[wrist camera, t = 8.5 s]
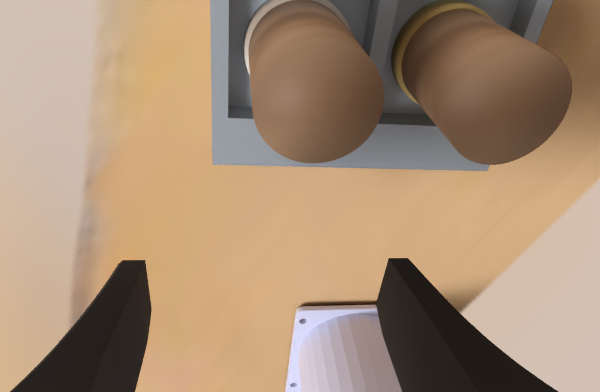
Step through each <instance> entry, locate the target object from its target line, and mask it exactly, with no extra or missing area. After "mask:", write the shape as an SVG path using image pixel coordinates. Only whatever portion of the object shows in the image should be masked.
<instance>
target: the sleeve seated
mask: <svg viewBox="0 0 600 392" xmlns="http://www.w3.org/2000/svg"><path fill="white" fill-rule="evenodd" d="M244 53H245V62H246V67H247V70H248V73H249V75H250V84H251V98H252V111H253V117H254V121H255V124H256V127H257V129H258V132H259V134H260V135H261V137H262V138H263V140H264V141H265V142H266V143H267V144H268V145H269V146H270V147H271V148H272V149H273V150H274V151H275V152H277V153H279V154H280V155H282V156H284V157H286V158H288V159H291V160H294V161H297V162H302V163H311V164H313V163H325V162H330V161H334V160H337V159H339V158H342V157H344V156H346V155H348V154H350V153H351V152H353V151H354V150H356V149H357V148H358V147H360V146H361V145H362V144H363V143H364V142H365V141H366V140H367V139H368V138H369V137H370V135H371V134H372V133H373V131H374V130H375V128H376V126H377V124H378V122H379V120H380V117H381V114H382V111H383V105H384V88H383V83H382V79H381V76H380V74H379V71H378V69H377V68H376V66H375V65H374V63H373V62H372V60H371V59H370V58H369V56H368V55H367V54H366V52H365V51H364V50H363V48H362V47H361V46H360V44H359V43H358V42H357V40H356V39H355V38H354V36H353V35H352V33H351V29H350V27H349V25H348V23H347V21H346V19H345V18H344V16H343V15H342V14H341V13H340V11H339V10H338V9H337V8H336V6H335V5H334V4H333V3H332V2H330V1H329V0H266V1H265V2H264V3H262V4H261V5H260V6H259V8H258V9H257V10H256V11H255V12H254V14H253V15H252V17H251V19H250V21H249V23H248V26H247V28H246V33H245V39H244Z"/></svg>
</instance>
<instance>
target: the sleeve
mask: <svg viewBox="0 0 600 392" xmlns="http://www.w3.org/2000/svg"><path fill="white" fill-rule="evenodd" d="M391 66H392V71H393V75H394V77H395V80H396V82H397V83H398V85H399V86H400V87H401V89H402V90H403V91H404V92H405V94H406V95H407V96H408V97H409V98H410V99H411V100H412V101H413V102H415V103H417V104H418V105H420V106H421V107H422V109H423V110H424V111H425V112H426V113H427V115H428V116H429V117H430V118H431V120H432V121H433V122H434V123H435V124H436V126H437V127H438V128H439V129H440V131H441V132H442V133H443V134H444V135H445V137H446V138H447V139H448V140H449V142H450V143H451V144H452V145H453V147H454V148H455V149H456V150H457V151H458V152H459V154H461V155H462V156H463V157H464V158H466V159H468V160H470V161H472V162H475V163H479V164H486V165H496V164H503V163H507V162H511V161H513V160H516V159H519V158H521V157H523V156H525V155H527V154H528V153H530V152H532V151H533V150H535V149H536V148H538V147H539V146H540V145H541V144H543V143H544V142H545V141H546V140H547V139H548V138H549V137H550V136H551V135H552V134H553V132H554V131H555V130H556V129H557V127H558V126H559V124H560V123H561V121H562V120H563V118H564V116H565V114H566V112H567V109H568V107H569V103H570V99H571V93H572V82H571V76H570V74H569V71H568V69H567V67H566V65H565V64H564V63H563V61H562V60H561V59H560V58H558V57H557V56H556V55H554V54H553V53H551V52H549V51H547V50H545V49H543V48H542V47H540V46H538V45H536V44H534V43H533V42H531V41H529V40H527V39H525V38H523V37H522V36H520V35H518V34H516V33H514V32H512V31H511V30H509V29H507V28H505V27H503V26H501V25H500V24H498V23H496V22H494V20H493V19H492V18H491V17H490V16H489V15H488V14H487V13H486V12H485V11H483V10H481V9H479V8H477V7H476V6H474V5H472V4H470V3H468V2H465V1H462V0H439V1H436V2H433V3H430V4H428V5H426V6H424V7H423V8H421V9H420V10H418V11H417V12H415V13H414V14H413V15H412V16H411V17H410V18H409V19H408V20H407V21H406V22H405V24H404V25H403V27H402V28H401V29H400V31H399V33H398V35H397V37H396V39H395V42H394V45H393V49H392V55H391Z"/></svg>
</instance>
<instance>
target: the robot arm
mask: <svg viewBox="0 0 600 392" xmlns="http://www.w3.org/2000/svg"><path fill="white" fill-rule="evenodd" d="M151 310H152V309H151V302H150V294H149V287H148V279H147V271H146V264H145V260H123V261H121V262H120V263H119V264H118V266H117V267H116V269H115V270H114V272H113V273H112V275H111V276H110V278H109V279H108V281H107V282H106V284H105V285H104V287H103V288H102V289H101V291H100V292H99V293H98V295H97V296H96V298H95V299H94V300H93V302H92V303H91V304H90V305H89V307H88V308H87V309H86V311H85V312H84V313H83V314H82V316H81V317H80V318H79V319H78V321H77V322H76V323H75V324H74V326H73V327H72V328H71V329H70V330H69V331H68V332H67V334H66V335H65V336H64V337H63V338H62V339H61V341H60V342H59V343H58V344H57V345H56V346H55V348H54V349H53V350H52V351H51V352H50V353H49V354H48V355H47V356H46V357H45V358H44V359H43V360H42V361H41V362H40V363H39V364H38V366H37V367H35V368H34V370H32V371H31V372H30V373H29V374H28V375H27V377H25V379H23V380H22V381H21V382H20V383H19V384H18V385H17V386H16V387H15V388H14V389H13V390H12V391H10V392H135V389H136V385H137V381H138V377H139V373H140V369H141V366H142V362H143V358H144V354H145V350H146V345H147V340H148V333H149V326H150V318H151ZM303 318H304V319H303ZM285 391H286V392H558V391H556V390H555V389H553V388H552V387H550V386H549V385H547V384H546V383H544V382H543V381H542V380H540V379H539V378H537V377H536V376H535V375H533V374H532V373H530V372H529V371H527V370H526V369H525V368H523V367H522V366H521V365H519V364H518V363H517V362H515V361H514V360H513V359H511V358H510V357H509V356H508V355H506V354H505V353H504V352H503V351H502V350H500V349H499V348H498V347H496V346H495V345H494V344H493V343H492V342H491V341H489V340H488V339H487V338H486V337H485V336H484V335H482V334H481V333H480V332H479V331H478V330H477V329H476V328H475V327H474V326H473V325H471V324H470V323H469V322H468V321H467V320H466V319H465V318H464V317H463V316H462V315H461V314H460V313H459V312H458V311H457V310H456V309H455V308H454V307H453V306H452V305H451V304H450V303H449V302H448V301H447V300H446V299H445V298H444V297H443V296H442V295H441V294H440V293H439V291H438V290H437V289H436V288H435V287H434V286H433V285H432V284H431V283H430V282H429V281H428V280H427V279H426V277H425V276H424V275H423V274H422V273H421V272H420V271H419V270H418V269H417V268H416V267H415V265H414V264H413V263H412V262H411V261H410V260H409V259H408V258H389V260H388V263H387V267H386V270H385V274H384V278H383V281H382V285H381V288H380V292H379V295H378V299H377V303H376V305H340V306H303V307H300V308H298V309H297V310H296V313H295V321H294V328H293V336H292V343H291V350H290V358H289V365H288V373H287V380H286V387H285Z"/></svg>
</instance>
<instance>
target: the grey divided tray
mask: <svg viewBox="0 0 600 392" xmlns="http://www.w3.org/2000/svg"><path fill="white" fill-rule="evenodd" d="M265 1H266V0H210V13H211V82H212V151H213V165H252V166H295V167H337V168H380V169H422V170H464V171H487V170H488V167H489V165H486V164H479V163H475V162H472V161H470V160H468V159H466V158H464V157H463V156H462V155H461V154H459V152H458V151H457V150H456V149H455V148H454V147H453V145H452V144H451V143H450V142H449V140H448V139H447V138H446V137H445V135H444V134H443V133H442V132H441V131H440V129H439V128H438V127H437V126H436V124H435V123H434V122H433V121H432V120H431V118H430V117H429V116H428V115H427V113H426V112H425V111H424V110H423V109H422V107H421V106H420V105H418V104H417V103H415V102H413V101H412V100H411V99H410V98H409V97H408V96H407V95H406V94H405V92H404V91H403V90H402V89H401V87H400V86H399V85H398V83H397V82H396V80H395V77H394V75H393V71H392V66H391V55H392V49H393V45H394V42H395V39H396V37H397V35H398V33H399V31H400V29H401V28H402V27H403V25H404V24H405V22H406V21H407V20H408V19H409V18H410V17H411V16H412V15H413V14H414V13H415V12H417V11H418V10H420V9H421V8H423V7H424V6H426V5H428V4H430V3H433V2H436V1H439V0H329V1H330V2H332V3H333V4H334V5H335V6H336V8H337V9H338V10H339V11H340V13H341V14H342V15H343V16H344V18H345V19H346V21H347V23H348V25H349V27H350V29H351V33H352V35H353V36H354V38H355V39H356V40H357V42H358V43H359V44H360V46H361V47H362V48H363V50H364V51H365V52H366V54H367V55H368V56H369V58H370V59H371V60H372V62H373V63H374V65H375V66H376V68H377V69H378V71H379V74H380V76H381V79H382V83H383V88H384V105H383V111H382V114H381V117H380V120H379V122H378V124H377V126H376V128H375V130H374V131H373V133H372V134H371V135H370V137H369V138H368V139H367V140H366V141H365V142H364V143H363V144H362V145H361V146H360V147H358V148H357V149H356V150H354V151H353V152H351V153H350V154H348V155H346V156H344V157H342V158H339V159H337V160H334V161H330V162H325V163H313V164H311V163H302V162H297V161H294V160H291V159H288V158H286V157H284V156H282V155H280V154H279V153H277V152H275V151H274V150H273V149H272V148H271V147H270V146H269V145H268V144H267V143H266V142H265V141H264V140H263V138H262V137H261V135H260V134H259V132H258V129H257V127H256V124H255V121H254V117H253V111H252V98H251V84H250V75H249V73H248V70H247V67H246V62H245V53H244V39H245V33H246V28H247V26H248V23H249V21H250V19H251V17H252V15H253V14H254V12H255V11H256V10H257V9H258V8H259V6H260V5H261V4H262V3H264V2H265ZM462 1H465V2H468V3H470V4H472V5H474V6H476V7H477V8H479V9H481V10H483V11H485V12H486V13H487V14H488V15H489V16H490V17H491V18H492V19H493V20H494V22H496V23H498V24H500V25H501V26H503V27H505V28H507V29H509V30H511V31H512V32H514V33H516V34H518V35H520V36H522V37H523V38H525V39H527V40H529V41H531V42H533V43H534V44H537V41H538V39H539V36H540V33H541V31H542V28H543V26H544V23H545V20H546V18H547V15H548V13H549V10H550V8H551V5H552V2H553V0H462Z"/></svg>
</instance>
